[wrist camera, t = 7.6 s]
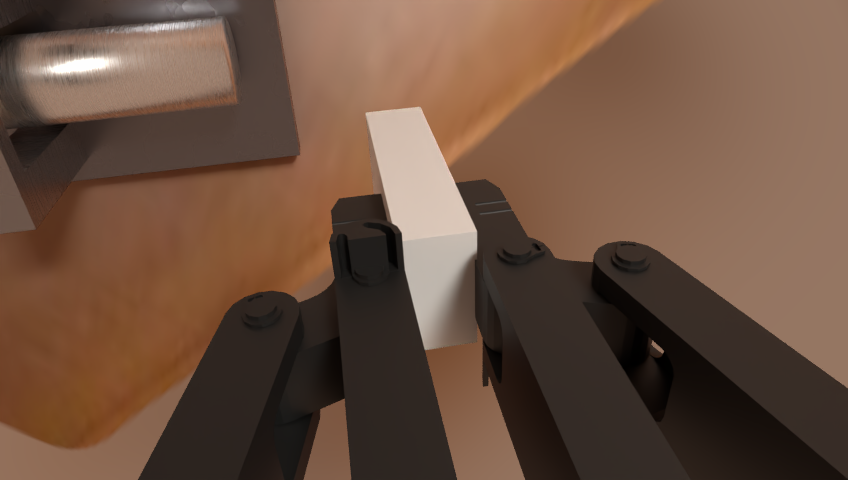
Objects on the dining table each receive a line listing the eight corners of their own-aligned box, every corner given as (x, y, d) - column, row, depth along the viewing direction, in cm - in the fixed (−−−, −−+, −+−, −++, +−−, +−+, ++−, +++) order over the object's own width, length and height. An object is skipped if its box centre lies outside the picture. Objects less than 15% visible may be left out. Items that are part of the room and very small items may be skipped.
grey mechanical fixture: (-315, -51, 26) (-559, -20, 19) (259, -92, 29) (244, -78, 22) (-160, 199, 32) (-297, 297, 25) (299, 146, 35) (299, 221, 28)
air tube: (-181, 136, 30) (-248, 173, 26) (-236, 44, 27) (-318, 71, 24) (245, 92, 32) (238, 120, 28) (226, 4, 30) (216, 23, 26)
